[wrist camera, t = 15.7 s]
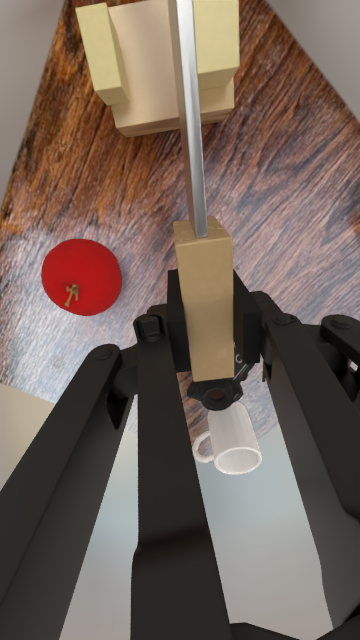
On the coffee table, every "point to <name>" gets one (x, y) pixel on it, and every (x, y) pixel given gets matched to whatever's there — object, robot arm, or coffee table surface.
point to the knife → (200, 223)
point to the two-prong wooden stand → (155, 73)
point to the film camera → (221, 387)
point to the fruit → (81, 277)
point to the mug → (230, 441)
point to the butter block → (216, 41)
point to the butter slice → (103, 53)
